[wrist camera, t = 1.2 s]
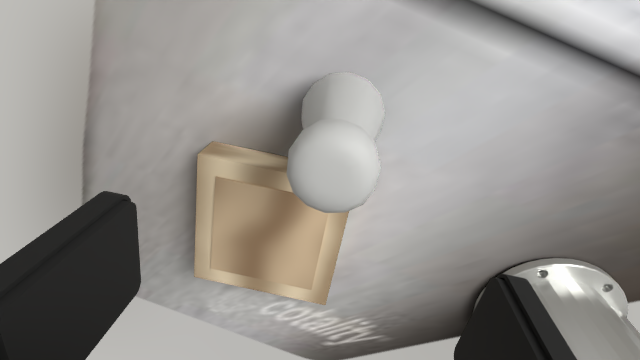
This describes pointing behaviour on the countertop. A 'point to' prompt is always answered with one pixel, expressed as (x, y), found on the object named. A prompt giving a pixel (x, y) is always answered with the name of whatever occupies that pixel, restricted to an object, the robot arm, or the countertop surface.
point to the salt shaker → (337, 144)
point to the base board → (261, 227)
